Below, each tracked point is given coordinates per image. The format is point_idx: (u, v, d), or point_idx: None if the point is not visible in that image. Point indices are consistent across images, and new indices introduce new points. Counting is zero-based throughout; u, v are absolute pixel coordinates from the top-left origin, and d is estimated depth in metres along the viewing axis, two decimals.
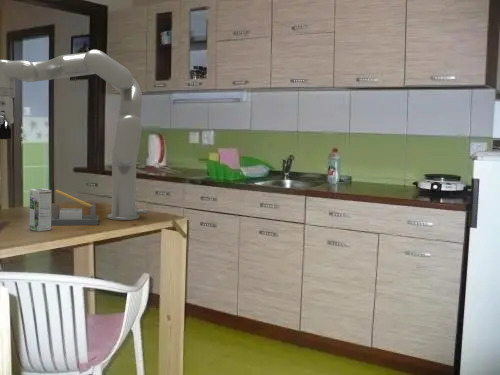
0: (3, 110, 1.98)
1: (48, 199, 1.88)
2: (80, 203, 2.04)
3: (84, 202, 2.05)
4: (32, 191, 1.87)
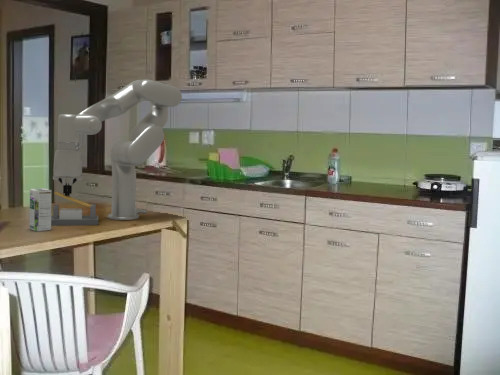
0: None
1: (48, 199, 1.88)
2: (80, 203, 2.04)
3: (84, 202, 2.05)
4: (32, 191, 1.87)
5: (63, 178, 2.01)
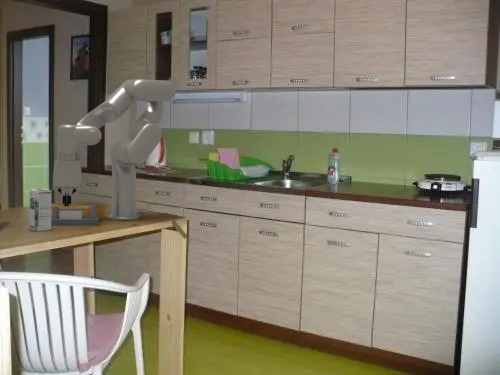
0: None
1: (48, 199, 1.88)
2: (79, 208, 2.04)
3: (83, 206, 2.05)
4: (32, 191, 1.87)
5: (62, 188, 2.01)
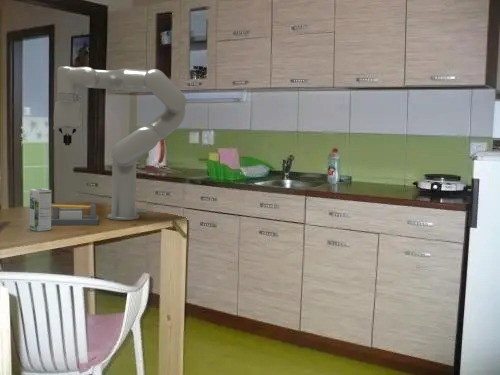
0: None
1: (48, 199, 1.88)
2: (79, 208, 2.04)
3: (83, 206, 2.05)
4: (32, 191, 1.87)
5: (63, 128, 2.10)
